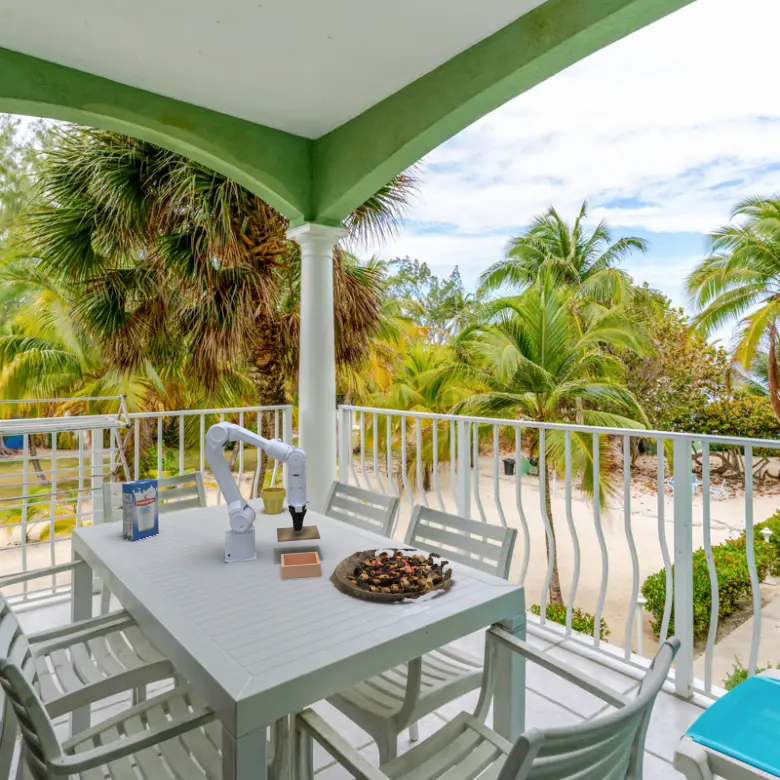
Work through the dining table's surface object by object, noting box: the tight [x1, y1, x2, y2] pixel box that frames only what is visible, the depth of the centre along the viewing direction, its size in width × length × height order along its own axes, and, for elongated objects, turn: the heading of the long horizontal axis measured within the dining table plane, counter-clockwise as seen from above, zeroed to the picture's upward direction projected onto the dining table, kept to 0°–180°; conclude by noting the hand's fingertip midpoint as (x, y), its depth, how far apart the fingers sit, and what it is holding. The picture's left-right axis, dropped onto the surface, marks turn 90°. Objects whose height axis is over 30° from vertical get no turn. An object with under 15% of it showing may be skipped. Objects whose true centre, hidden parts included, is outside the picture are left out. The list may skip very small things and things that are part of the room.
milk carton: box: [121, 478, 160, 542], centre depth 200 cm, size 10×6×20 cm, turn 148°
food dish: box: [328, 547, 453, 602], centre depth 159 cm, size 35×33×8 cm
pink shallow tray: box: [280, 552, 322, 582], centre depth 165 cm, size 11×11×4 cm
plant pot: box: [260, 486, 287, 515], centre depth 233 cm, size 10×10×10 cm
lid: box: [276, 524, 321, 543], centre depth 178 cm, size 13×13×5 cm
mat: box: [273, 544, 324, 565], centre depth 179 cm, size 15×15×1 cm
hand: (297, 529), depth 178 cm, fingers closed on lid, 3 cm apart
